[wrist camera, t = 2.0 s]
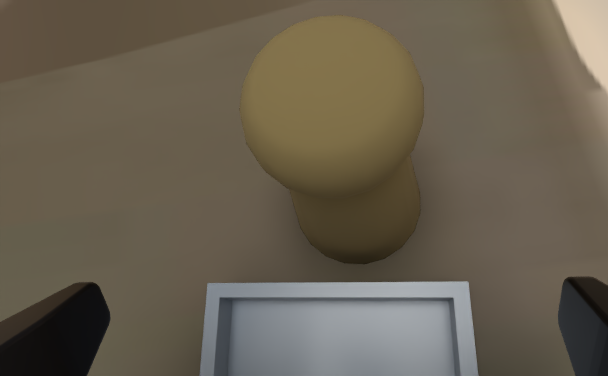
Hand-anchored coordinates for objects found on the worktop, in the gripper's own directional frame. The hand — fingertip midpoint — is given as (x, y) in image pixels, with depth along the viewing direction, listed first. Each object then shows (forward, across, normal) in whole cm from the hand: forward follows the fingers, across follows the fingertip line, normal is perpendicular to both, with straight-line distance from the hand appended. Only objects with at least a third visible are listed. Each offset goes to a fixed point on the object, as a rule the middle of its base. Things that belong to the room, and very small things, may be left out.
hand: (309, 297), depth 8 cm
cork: (+12, 0, +5) cm, 13 cm away
